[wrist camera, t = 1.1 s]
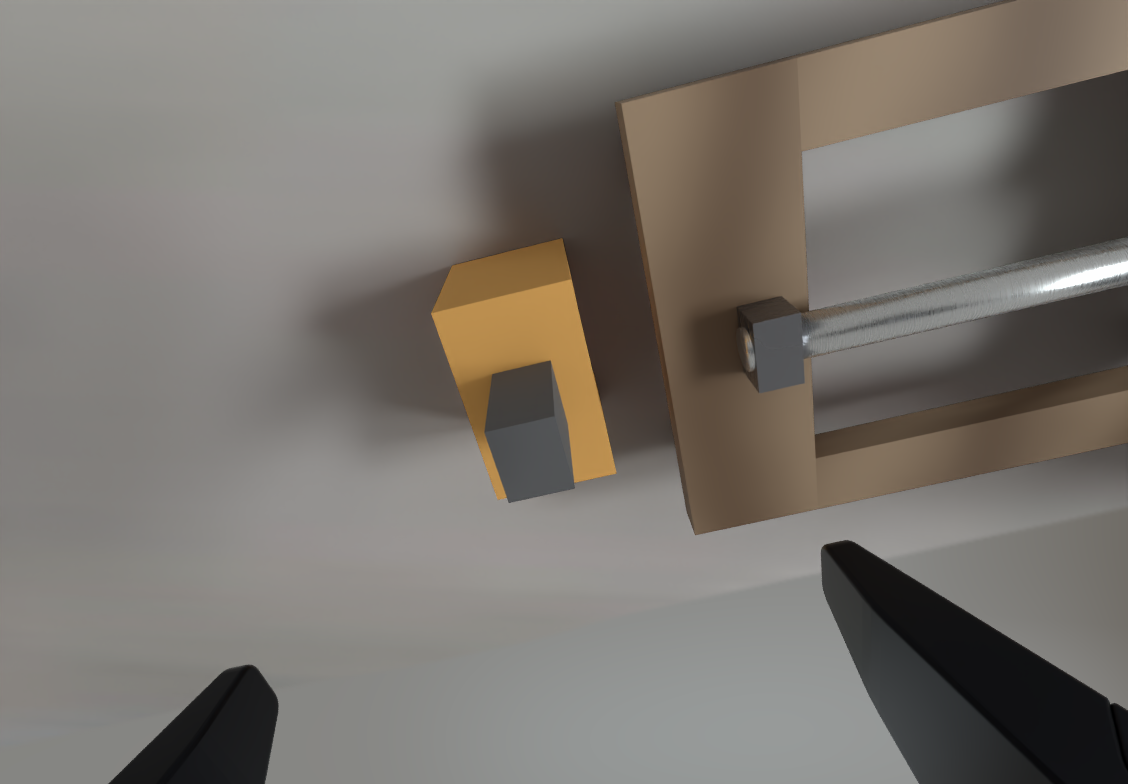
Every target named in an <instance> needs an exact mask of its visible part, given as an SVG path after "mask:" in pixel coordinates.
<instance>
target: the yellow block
mask: <svg viewBox="0 0 1128 784" xmlns="http://www.w3.org/2000/svg"><path fill="white" fill-rule="evenodd" d="M431 314H432V317H433V320H434V323H435V326H436V328H437V331H438V334H439V337H440V340H441V342H442V345H443V348H444V351H445V354H446V356H447V359H448V362H449V365H450V368H451V370H452V373H453V376H454V379H455V382H456V384H457V387H458V390H459V393H460V395H461V398H462V401H463V404H464V407H465V409H466V412H467V415H468V418H469V421H470V423H471V426H472V429H473V432H474V435H475V437H476V440H477V443H478V446H479V449H480V451H481V454H482V457H483V460H484V463H485V465H486V468H487V471H488V474H489V477H490V479H491V482H492V485H493V488H494V491H495V493H496V496H497V499H498V500H499V499H504V498H507V499H508V502H509V503H511V502H515V501H520V500H524V499H529V498H533V497H538V496H543V495H547V494H552V493H556V492H561V491H565V490H570V489H574V488H575V485H574V483H576V482H580V481H585V480H589V479H594V478H599V477H603V476H608V475H612V474H617V473H616V469H615V464H614V460H613V455H612V450H611V446H610V441H609V437H608V432H607V428H606V423H605V419H604V414H603V410H602V405H601V400H600V396H599V392H598V388H597V383H596V379H595V375H594V372H593V370H592V366H591V362H590V357H589V353H588V349H587V345H586V340H585V336H584V332H583V328H582V323H581V319H580V315H579V311H578V306H577V301H576V296H575V292H574V287H573V282H572V277H571V273H570V268H569V264H568V260H567V256H566V251H565V247H564V243H563V239H562V238H561V239H557V240H553V241H549V242H545V243H541V244H537V245H533V246H529V247H525V248H521V249H517V250H512V251H508V252H504V253H500V254H496V255H492V256H488V257H484V258H480V259H476V260H472V261H468V262H464V263H460V264H456V265H452V267H451V269H450V272H449V274H448V276H447V278H446V281H445V283H444V285H443V288H442V290H441V292H440V294H439V297H438V299H437V301H436V303H435V306H434V308H433V310H432V313H431Z"/></svg>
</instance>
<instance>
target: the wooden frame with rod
mask: <svg viewBox="0 0 1128 784" xmlns="http://www.w3.org/2000/svg"><path fill="white" fill-rule="evenodd" d="M1124 70H1128V0H1005V1H1001V2H997V3H993V4H989V5H985V6H982V7H978V8H974V9H970V10H966V11H962V12H959V13H955V14H951V15H947V16H943V17H939V18H936V19H932V20H928V21H924V22H920V23H916V24H913V25H909V26H905V27H901V28H897V29H893V30H890V31H886V32H882V33H878V34H874V35H871V36H867V37H863V38H859V39H855V40H851V41H848V42H844V43H840V44H836V45H832V46H828V47H825V48H821V49H817V50H813V51H809V52H805V53H802V54H798V55H794V56H790V57H786V58H782V59H779V60H775V61H771V62H767V63H763V64H759V65H756V66H752V67H748V68H744V69H740V70H736V71H733V72H729V73H725V74H721V75H717V76H713V77H710V78H706V79H702V80H698V81H694V82H691V83H687V84H683V85H679V86H675V87H671V88H668V89H664V90H660V91H656V92H652V93H648V94H645V95H641V96H637V97H633V98H629V99H625V100H622V101H618V102H615V106H616V112H617V118H618V124H619V129H620V135H621V141H622V146H623V152H624V158H625V163H626V169H627V175H628V180H629V186H630V192H631V198H632V203H633V209H634V215H635V220H636V226H637V232H638V237H639V243H640V249H641V254H642V260H643V266H644V272H645V277H646V283H647V289H648V294H649V300H650V306H651V311H652V317H653V323H654V328H655V334H656V340H657V346H658V351H659V357H660V363H661V368H662V374H663V380H664V385H665V391H666V397H667V403H668V408H669V414H670V420H671V425H672V431H673V437H674V442H675V448H676V454H677V459H678V465H679V471H680V477H681V482H682V488H683V494H684V499H685V505H686V511H687V514H688V517H689V519H690V522H691V525H692V528H693V530H694V533H695V535H698V534H703V533H708V532H712V531H717V530H722V529H727V528H731V527H736V526H741V525H745V524H750V523H755V522H759V521H764V520H769V519H773V518H778V517H783V516H787V515H792V514H797V513H802V512H806V511H811V510H816V509H820V508H825V507H830V506H834V505H839V504H844V503H848V502H853V501H858V500H862V499H867V498H872V497H877V496H881V495H886V494H891V493H895V492H900V491H905V490H909V489H914V488H919V487H923V486H928V485H933V484H938V483H942V482H947V481H952V480H956V479H961V478H966V477H970V476H975V475H980V474H984V473H989V472H994V471H998V470H1003V469H1008V468H1013V467H1017V466H1022V465H1027V464H1031V463H1036V462H1041V461H1045V460H1050V459H1055V458H1059V457H1064V456H1069V455H1074V454H1078V453H1083V452H1088V451H1092V450H1097V449H1102V448H1106V447H1111V446H1116V445H1120V444H1125V443H1128V366H1123V367H1119V368H1114V369H1110V370H1105V371H1101V372H1096V373H1092V374H1087V375H1083V376H1078V377H1074V378H1069V379H1064V380H1060V381H1055V382H1051V383H1046V384H1042V385H1037V386H1033V387H1028V388H1024V389H1019V390H1015V391H1010V392H1006V393H1001V394H997V395H992V396H988V397H983V398H979V399H974V400H969V401H965V402H960V403H956V404H951V405H947V406H942V407H938V408H933V409H929V410H924V411H920V412H915V413H911V414H906V415H902V416H897V417H893V418H888V419H884V420H879V421H874V422H870V423H865V424H861V425H856V426H852V427H847V428H843V429H838V430H834V431H829V432H825V433H820V434H816V435H815V433H814V412H813V390H812V368H811V358H807V359H804V375H805V383H804V384H799V385H795V386H790V387H786V388H782V389H777V390H773V391H768V392H764V393H758V391H757V390H756V388H755V387H754V386H753V384H752V383H751V382H750V380H749V379H748V378H747V376H746V375H745V374H744V371H743V364H742V362H741V359H740V356H739V352H738V347H737V340H736V332H737V329H738V328H739V324H738V314H737V306H741V305H746V304H750V303H754V302H758V301H762V300H767V299H771V298H775V297H779V296H782V297H783V298H785V299H786V300H787V301H788V302H789V303H790V304H792V305H793V306H794V307H795V308H796V309H798V310H799V311H800V312H801V313H804V312H808V311H809V303H808V282H807V260H806V238H805V217H804V195H803V173H802V151H806V150H810V149H814V148H818V147H822V146H826V145H830V144H834V143H837V142H841V141H845V140H849V139H853V138H857V137H861V136H865V135H869V134H873V133H877V132H881V131H885V130H889V129H893V128H897V127H901V126H905V125H909V124H913V123H917V122H921V121H925V120H929V119H933V118H937V117H941V116H945V115H949V114H953V113H957V112H961V111H965V110H969V109H973V108H977V107H981V106H985V105H989V104H993V103H997V102H1001V101H1005V100H1009V99H1013V98H1017V97H1021V96H1025V95H1029V94H1033V93H1037V92H1041V91H1045V90H1049V89H1053V88H1057V87H1061V86H1065V85H1069V84H1073V83H1077V82H1081V81H1085V80H1089V79H1093V78H1097V77H1101V76H1105V75H1109V74H1113V73H1117V72H1120V71H1124Z"/></svg>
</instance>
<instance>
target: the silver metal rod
mask: <svg viewBox="0 0 1128 784" xmlns="http://www.w3.org/2000/svg"><path fill="white" fill-rule="evenodd" d="M1126 285H1128V237H1124V238H1120V239H1116V240H1111V241H1107V242H1103V243H1099V244H1094V245H1090V246H1086V247H1082V248H1077V249H1073V250H1069V251H1064V252H1060V253H1056V254H1052V255H1047V256H1043V257H1039V258H1035V259H1030V260H1026V261H1022V262H1017V263H1013V264H1009V265H1005V266H1000V267H996V268H992V269H988V270H983V271H979V272H975V273H970V274H966V275H962V276H958V277H953V278H949V279H945V280H941V281H936V282H932V283H928V284H923V285H919V286H915V287H911V288H906V289H902V290H898V291H894V292H889V293H885V294H881V295H876V296H872V297H868V298H864V299H859V300H855V301H851V302H847V303H842V304H838V305H834V306H829V307H825V308H821V309H817V310H812V311H808V312H804V313H801V312H800V311H799V310H798V309H796V308H795V307H794V306H793V305H792V304H790V303H789V302H788V301H787V300H786V299H785V298H783V297H782V296H779V297H775V298H771V299H767V300H762V301H758V302H754V303H750V304H746V305H741V306H737V314H738V324H739V328H738V329H737V332H736V340H737V347H738V352H739V356H740V359H741V362H742V364H743V371H744V374H745V375H746V376H747V378H748V379H749V380H750V382H751V383H752V384H753V386H754V387H755V388H756V390H757V391H758V393H764V392H768V391H773V390H777V389H782V388H786V387H790V386H795V385H799V384H804V383H805V375H804V359H807V358H812V357H816V356H820V355H825V354H829V353H833V352H838V351H842V350H846V349H851V348H855V347H860V346H864V345H868V344H873V343H877V342H881V341H886V340H890V339H894V338H899V337H903V336H908V335H912V334H916V333H921V332H925V331H929V330H934V329H938V328H942V327H947V326H951V325H956V324H960V323H964V322H969V321H973V320H977V319H982V318H986V317H990V316H995V315H999V314H1004V313H1008V312H1012V311H1017V310H1021V309H1025V308H1030V307H1034V306H1038V305H1043V304H1047V303H1052V302H1056V301H1060V300H1065V299H1069V298H1073V297H1078V296H1082V295H1086V294H1091V293H1095V292H1100V291H1104V290H1108V289H1113V288H1117V287H1121V286H1126Z"/></svg>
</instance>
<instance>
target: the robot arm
mask: <svg viewBox="0 0 1128 784" xmlns="http://www.w3.org/2000/svg"><path fill="white" fill-rule="evenodd" d="M821 566H822V585H823V591H824V594H825V597H826V600H827V602H828V604H829V606H830V609H831V611H832V614H833V616H834V618H835V620H836V622H837V625H838V627H839V629H840V632H841V634H842V636H843V638H844V641H845V643H846V645H847V647H848V649H849V651H850V654H851V656H852V659H853V661H854V663H855V665H856V668H857V670H858V672H859V674H860V677H861V679H862V681H863V683H864V686H865V688H866V690H867V692H868V694H869V696H870V698H871V700H872V702H873V704H874V706H875V708H876V709H877V711H878V713H879V715H880V717H881V718H882V720H883V722H884V724H885V725H886V727H887V729H888V731H889V732H890V734H891V736H892V737H893V739H894V741H895V743H896V745H897V746H898V748H899V750H900V751H901V753H902V755H903V757H904V758H905V760H906V762H907V764H908V765H909V767H910V769H911V771H912V772H913V774H914V776H915V778H916V779H917V781H918V783H919V784H1128V710H1126V709H1125V708H1123V707H1122V706H1120V705H1118V704H1116V703H1112V704H1110V702H1109V700H1108V698H1106V697H1105V696H1103V695H1102V694H1100V693H1098V692H1097V691H1095V690H1093V689H1092V688H1090V687H1088V686H1087V685H1085V684H1084V683H1082V682H1080V681H1079V680H1077V679H1075V678H1074V677H1072V676H1071V675H1069V674H1067V673H1066V672H1064V671H1063V670H1061V669H1059V668H1058V667H1056V666H1054V665H1053V664H1051V663H1049V662H1048V661H1046V660H1045V659H1043V658H1041V657H1040V656H1038V655H1037V654H1035V653H1033V652H1032V651H1030V650H1028V649H1027V648H1025V647H1024V646H1022V645H1020V644H1019V643H1017V642H1015V641H1014V640H1012V639H1010V638H1009V637H1007V636H1006V635H1004V634H1002V633H1001V632H999V631H998V630H996V629H994V628H993V627H991V626H990V625H988V624H986V623H985V622H983V621H981V620H980V619H978V618H977V617H975V616H973V615H972V614H970V613H968V612H967V611H965V610H964V609H962V608H960V607H959V606H957V605H955V604H954V603H952V602H950V601H949V600H947V599H946V598H944V597H942V596H941V595H939V594H938V593H936V592H934V591H933V590H931V589H929V588H928V587H926V586H925V585H923V584H921V583H920V582H918V581H916V580H915V579H913V578H911V577H910V576H908V575H907V574H905V573H903V572H902V571H900V570H899V569H897V568H895V567H894V566H892V565H890V564H889V563H887V562H886V561H884V560H882V559H881V558H879V557H877V556H876V555H874V554H873V553H871V552H869V551H868V550H866V549H864V548H863V547H861V546H860V545H858V544H856V543H855V542H852V541H849V540H844V541H839V542H835V543H830V544H826V545H824V546H823V547H822V550H821ZM277 716H278V699H277V697H276V694H275V693H274V691H273V690H272V688H271V687H270V685H269V684H268V683H267V681H266V680H265V678H264V677H263V676H262V674H261V673H260V671H259V670H258V669H257V668H256V667H255V666H253V665H243V666H239V667H234V668H229V669H227V670H225V671H223V672H222V673H221V674H220V675H219V676H218V677H217V678H216V679H215V680H214V681H213V682H212V683H211V684H210V685H209V686H208V687H207V688H206V689H205V690H204V691H203V692H202V693H200V694H199V695H198V696H197V697H196V698H195V699H194V700H193V701H192V702H191V703H190V704H189V705H188V706H187V707H186V708H185V709H184V710H183V711H182V712H181V713H180V714H179V715H178V716H177V717H176V718H175V719H174V720H173V721H172V722H171V723H170V724H169V725H168V726H167V727H166V728H165V729H164V730H163V731H162V732H161V733H160V734H159V735H158V736H157V737H156V738H155V739H154V740H153V741H152V742H151V743H149V745H147V747H145V749H143V750H142V751H141V752H140V753H139V754H138V755H137V756H136V757H135V758H134V759H133V760H132V761H131V762H130V763H129V764H128V765H127V766H126V767H125V768H124V769H123V770H122V771H121V772H120V773H119V774H118V775H117V776H116V777H115V778H114V779H113V780H112V781H111V782H110V783H109V784H265V780H266V775H267V770H268V764H269V758H270V753H271V748H272V743H273V737H274V732H275V726H276V721H277Z"/></svg>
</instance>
